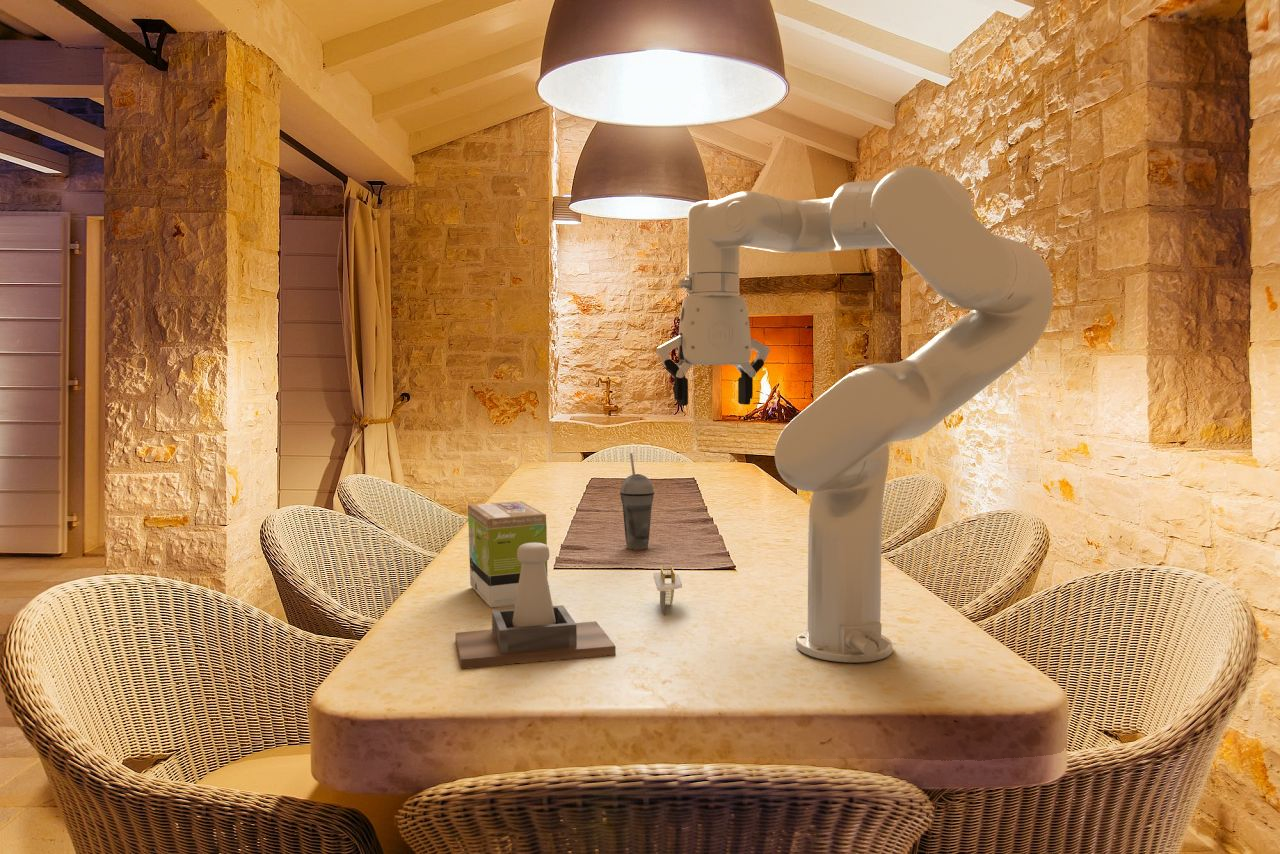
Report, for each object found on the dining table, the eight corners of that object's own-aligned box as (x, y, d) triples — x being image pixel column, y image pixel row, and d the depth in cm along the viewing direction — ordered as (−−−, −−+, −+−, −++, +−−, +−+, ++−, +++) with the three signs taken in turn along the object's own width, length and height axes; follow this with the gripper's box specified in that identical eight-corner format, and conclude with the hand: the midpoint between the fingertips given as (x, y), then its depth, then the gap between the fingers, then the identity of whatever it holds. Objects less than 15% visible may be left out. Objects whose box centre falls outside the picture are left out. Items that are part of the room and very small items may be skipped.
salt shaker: (548, 646, 118) (546, 549, 117) (506, 644, 119) (505, 547, 119) (561, 633, 124) (559, 540, 123) (521, 631, 125) (520, 539, 124)
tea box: (468, 588, 156) (466, 503, 155) (524, 582, 159) (523, 499, 159) (488, 609, 142) (487, 516, 141) (549, 602, 146) (548, 511, 145)
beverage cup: (654, 551, 186) (654, 454, 184) (619, 551, 186) (618, 454, 185) (654, 544, 193) (654, 451, 192) (620, 544, 193) (620, 451, 192)
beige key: (698, 596, 151) (698, 557, 150) (713, 626, 133) (713, 583, 132) (627, 597, 150) (627, 558, 150) (632, 628, 132) (632, 584, 132)
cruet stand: (615, 654, 118) (615, 623, 118) (461, 668, 113) (460, 636, 113) (596, 629, 130) (595, 601, 130) (455, 641, 125) (454, 611, 125)
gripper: (664, 284, 126) (664, 406, 127) (778, 286, 130) (778, 404, 131) (649, 289, 133) (650, 404, 134) (758, 291, 137) (758, 403, 138)
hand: (713, 404), depth 133 cm, fingers open, 9 cm apart
